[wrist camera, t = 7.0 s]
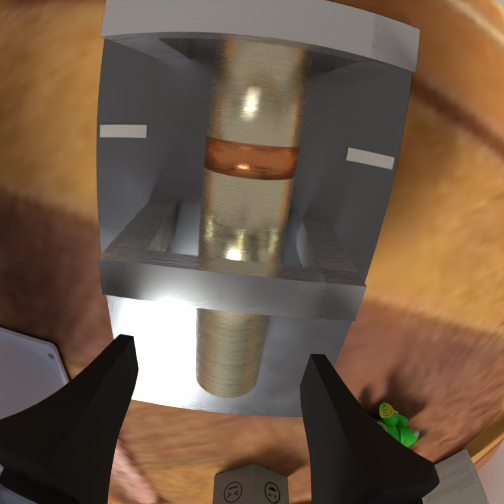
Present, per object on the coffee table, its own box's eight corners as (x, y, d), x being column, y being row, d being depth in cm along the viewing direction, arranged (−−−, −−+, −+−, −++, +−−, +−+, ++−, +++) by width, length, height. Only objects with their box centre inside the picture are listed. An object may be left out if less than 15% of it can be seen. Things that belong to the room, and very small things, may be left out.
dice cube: (248, 487, 27) (248, 527, 22) (214, 474, 25) (211, 518, 21) (287, 476, 25) (290, 519, 21) (254, 462, 24) (254, 510, 19)
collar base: (310, 405, 20) (320, 479, 14) (131, 387, 19) (108, 458, 14) (406, 31, 10) (489, 6, 5) (121, -2, 9) (49, -46, 4)
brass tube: (251, 350, 16) (264, 395, 14) (192, 353, 15) (197, 400, 13) (301, 6, 9) (337, -15, 6) (221, -8, 8) (234, -38, 6)
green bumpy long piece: (357, 480, 27) (363, 511, 23) (319, 405, 20) (327, 457, 16) (413, 460, 26) (422, 491, 22) (409, 372, 19) (430, 421, 15)
